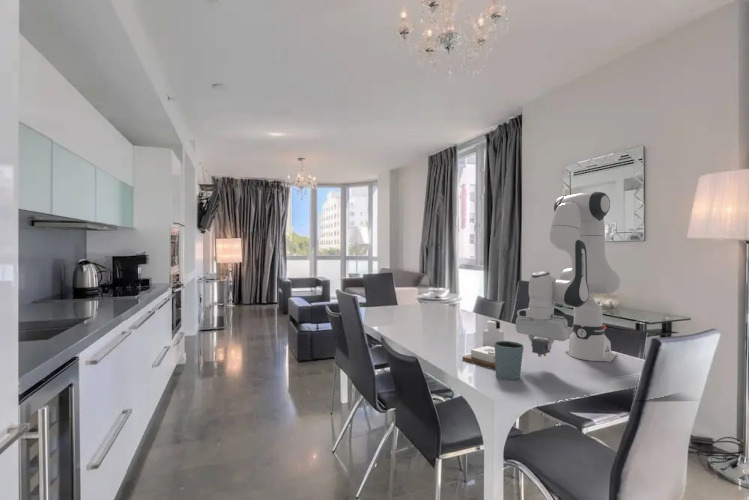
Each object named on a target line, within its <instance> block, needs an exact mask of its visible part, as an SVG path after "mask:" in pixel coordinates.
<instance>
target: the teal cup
mask: <svg viewBox="0 0 749 500" xmlns="http://www.w3.org/2000/svg"><path fill="white" fill-rule="evenodd" d="M524 348H525V347H524V345H523V344H522V343H519V342H516V341H509V340H504V341H497V342H495V362H496V363H495V367H496V369H495V377H497V378H498V379H502V380H505V381H517V380H519V379H520V378H521V372H522V371H521V370H522V360H523V353H524Z"/></svg>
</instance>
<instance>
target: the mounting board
mask: <svg viewBox="0 0 749 500" xmlns="http://www.w3.org/2000/svg"><path fill="white" fill-rule="evenodd" d="M462 361H465V362H468V363H471V364H475V365H478V366H481V367H484V368H485V367H486V368H488V369H493V370H496V367H495V363H496V362H495V363H492V362H488V361H484V360H481V359H477V358H473V357H471V353H470V354H468V355H467V354H466V355H463V356H462Z"/></svg>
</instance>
